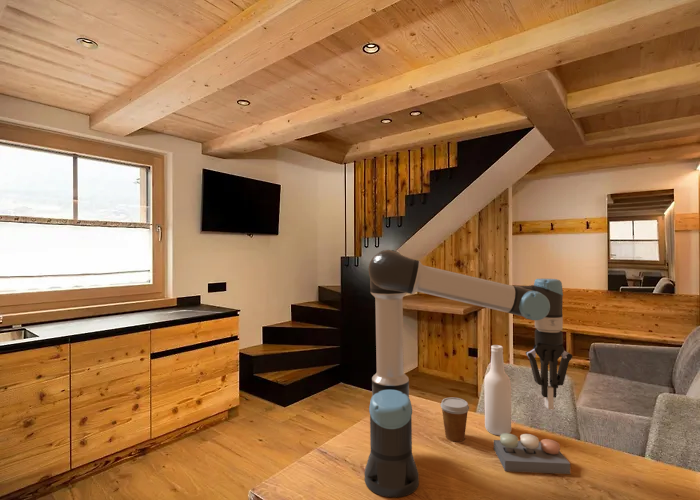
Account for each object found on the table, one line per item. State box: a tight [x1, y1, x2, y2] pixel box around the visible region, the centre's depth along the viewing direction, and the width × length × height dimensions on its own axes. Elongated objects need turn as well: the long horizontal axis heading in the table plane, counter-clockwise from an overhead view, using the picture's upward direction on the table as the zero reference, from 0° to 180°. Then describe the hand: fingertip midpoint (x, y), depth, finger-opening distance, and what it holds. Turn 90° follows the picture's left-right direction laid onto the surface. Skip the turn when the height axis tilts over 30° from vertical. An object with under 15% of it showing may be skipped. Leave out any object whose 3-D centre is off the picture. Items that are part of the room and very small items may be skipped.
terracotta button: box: [540, 438, 561, 455], centre depth 114 cm, size 5×5×5 cm
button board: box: [493, 439, 571, 475], centre depth 115 cm, size 18×12×3 cm, turn 84°
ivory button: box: [519, 433, 540, 454], centre depth 115 cm, size 5×5×5 cm
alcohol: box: [483, 344, 512, 437], centre depth 134 cm, size 9×9×30 cm
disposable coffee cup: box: [440, 397, 470, 442], centre depth 129 cm, size 10×10×12 cm
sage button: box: [499, 433, 519, 453], centre depth 115 cm, size 5×5×5 cm
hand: (548, 407), depth 114 cm, fingers closed
